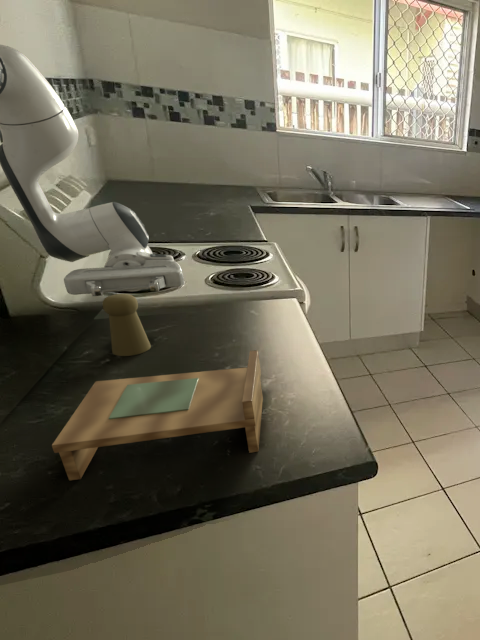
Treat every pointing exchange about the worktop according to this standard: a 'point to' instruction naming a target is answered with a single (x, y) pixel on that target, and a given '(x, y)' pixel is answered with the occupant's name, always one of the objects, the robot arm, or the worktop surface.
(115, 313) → the cork
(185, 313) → the worktop surface
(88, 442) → the shelf
